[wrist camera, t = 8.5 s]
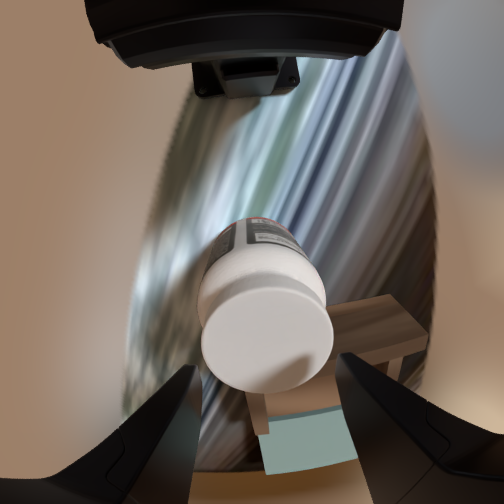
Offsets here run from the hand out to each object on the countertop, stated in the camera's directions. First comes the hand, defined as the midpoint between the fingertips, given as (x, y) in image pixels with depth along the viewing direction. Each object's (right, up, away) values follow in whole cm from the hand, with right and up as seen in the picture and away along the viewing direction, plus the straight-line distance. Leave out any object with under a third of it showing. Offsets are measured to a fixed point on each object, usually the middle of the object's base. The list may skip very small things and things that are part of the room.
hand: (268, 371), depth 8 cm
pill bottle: (0, +3, +11) cm, 11 cm away
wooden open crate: (+5, -5, +13) cm, 15 cm away
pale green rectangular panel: (+6, -11, +14) cm, 19 cm away
